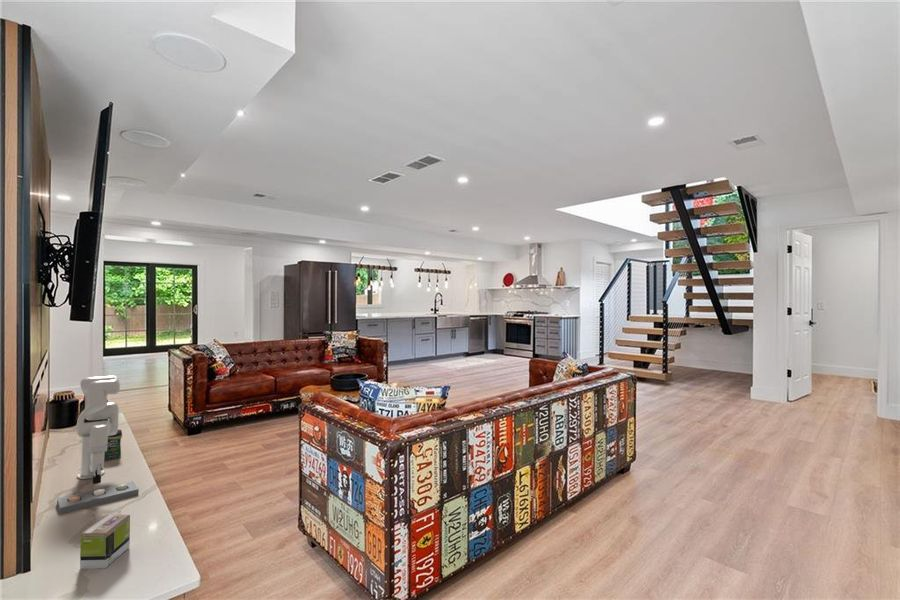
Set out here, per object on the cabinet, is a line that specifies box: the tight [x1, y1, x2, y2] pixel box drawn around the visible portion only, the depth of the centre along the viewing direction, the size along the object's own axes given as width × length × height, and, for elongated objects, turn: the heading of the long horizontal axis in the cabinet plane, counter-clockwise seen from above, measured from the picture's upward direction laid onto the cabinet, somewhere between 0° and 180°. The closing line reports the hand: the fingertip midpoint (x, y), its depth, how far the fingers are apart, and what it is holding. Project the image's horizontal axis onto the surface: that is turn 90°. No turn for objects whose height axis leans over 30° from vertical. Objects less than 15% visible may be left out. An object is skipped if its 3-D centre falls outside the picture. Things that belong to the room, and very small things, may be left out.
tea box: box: [79, 514, 131, 570], centre depth 178 cm, size 15×10×15 cm
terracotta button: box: [69, 496, 80, 502], centre depth 220 cm, size 4×4×3 cm
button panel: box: [56, 480, 139, 515], centre depth 228 cm, size 14×32×3 cm, turn 137°
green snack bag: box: [104, 429, 123, 461], centre depth 284 cm, size 10×8×19 cm
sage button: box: [117, 483, 127, 491], centre depth 235 cm, size 4×4×3 cm
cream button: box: [94, 488, 105, 496], centre depth 228 cm, size 4×4×3 cm
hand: (96, 482), depth 227 cm, fingers closed
